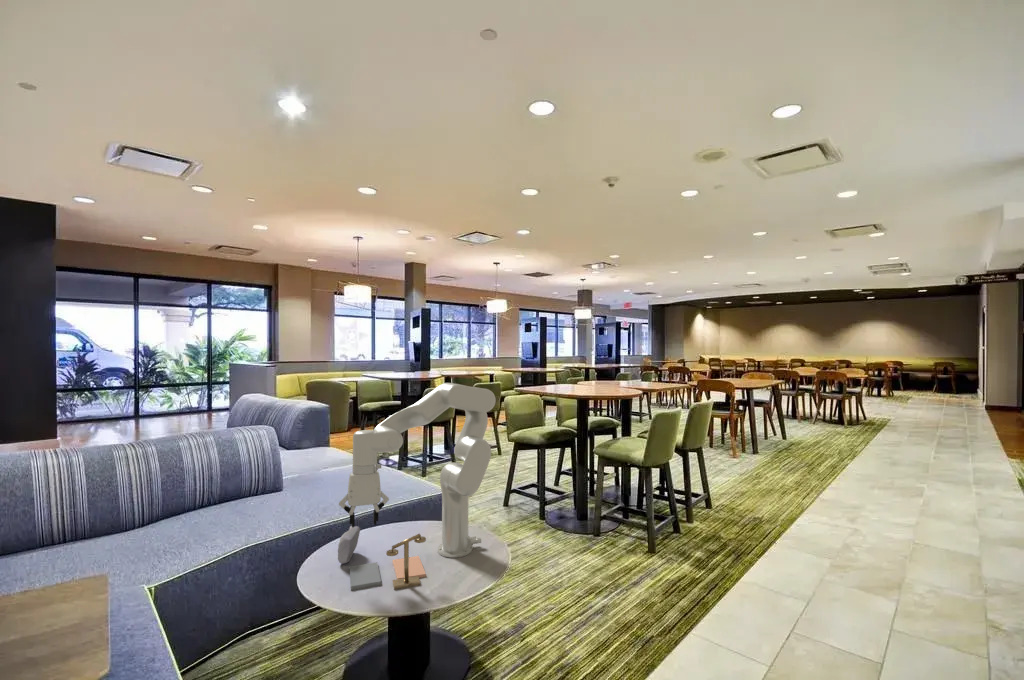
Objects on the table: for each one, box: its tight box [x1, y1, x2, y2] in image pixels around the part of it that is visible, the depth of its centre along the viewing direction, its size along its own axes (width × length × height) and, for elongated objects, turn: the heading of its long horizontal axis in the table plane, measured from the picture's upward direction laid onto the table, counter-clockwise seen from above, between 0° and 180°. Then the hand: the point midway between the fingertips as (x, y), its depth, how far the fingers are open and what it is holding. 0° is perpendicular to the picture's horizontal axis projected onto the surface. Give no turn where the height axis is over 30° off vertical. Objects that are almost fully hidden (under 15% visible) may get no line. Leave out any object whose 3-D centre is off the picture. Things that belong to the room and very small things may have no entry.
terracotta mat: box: [392, 555, 427, 580], centre depth 160 cm, size 9×14×1 cm, turn 20°
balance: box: [385, 533, 427, 591], centre depth 150 cm, size 12×4×16 cm, turn 110°
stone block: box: [337, 525, 361, 565], centre depth 168 cm, size 12×5×10 cm, turn 0°
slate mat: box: [349, 561, 382, 591], centre depth 155 cm, size 9×14×1 cm, turn 20°
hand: (364, 524), depth 155 cm, fingers open, 6 cm apart
